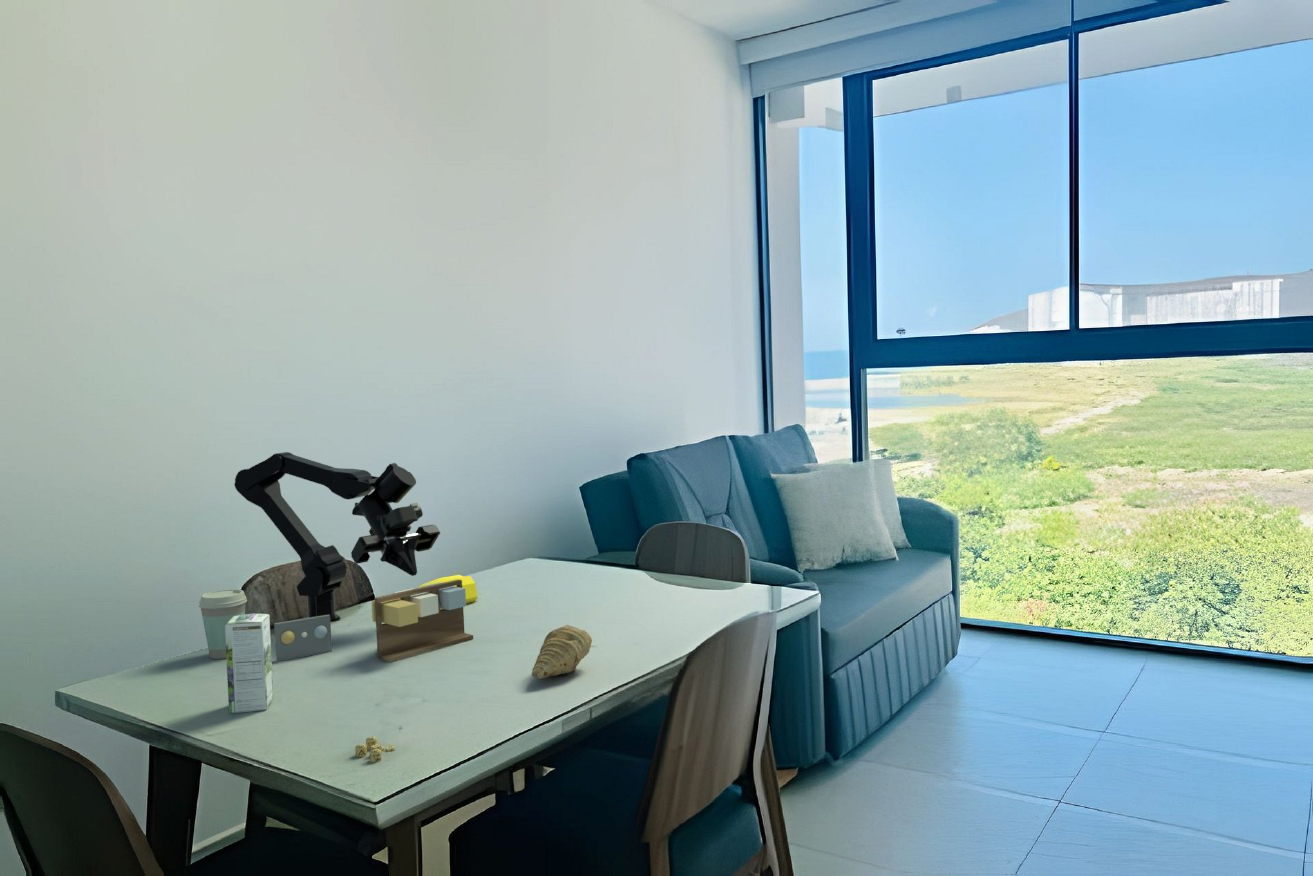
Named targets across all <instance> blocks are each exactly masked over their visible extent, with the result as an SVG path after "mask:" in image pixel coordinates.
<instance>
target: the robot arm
mask: <svg viewBox="0 0 1313 876" xmlns="http://www.w3.org/2000/svg"><path fill="white" fill-rule="evenodd" d="M286 474H287V475H289V476H294V477H296V478H299V479H302V480H306V481H309V482H312V483H315V484H318V485H321V486H324V487H326V488H328V490H330V491H331V493H333V494H334V495H337V496H338V497H340V498H342V499H344V500H352V499H357V498H361V497H363V498H361V499H360V501H359V502H354V507H353V508H352V511H351V514H352V515H353V516H360V517H364V518H365V520H366V522H367V523H368V525H369V527H370V529H369V531H368V532H369V533H368V534H370V535H364V536H363V535H362V536H359V537H358V539H357V541H356V543H355V545H354V546H353V548H352V551H351V552H350V554H351V558H352V561H353V562H354V563H355V565H357V564H363V563H367V562H369V560H370V557H371V556H370V554H369V553H375V552H380V553H381V557H380V559H379V560H380V562H385V563H387V564H389V565H392V566H393V567H395V568H398V569H400V570H401V571H403V572H404V573H407V574H408V575H410V576H412V577H414V576H416V575H417V574H418V569H417V568H418V567H417V562H416V552H424V551H429V550H430V549H432V548H433V546H434V544H435V542H436V541H437V539H438V538H439V536H440V534H441V531H440V530H439V528H438V527H437V525H436V524H429V525H428V524H427V525H422V526H418V528H417V529H416V531H415V532H414V533H412V534H411V533H410V534H408V532H411V529H412V526H411V525H412V524H414V523H415V522H418V521H419V519H420V518H422V517H423V515H424V512H423V511H422V507H421V506H420V505H419V504H418V502H415V503H414V502H413V503H410V504H409V505H407V506H400V507H396V508H394V509H393V508H392V506H391V504H392V503H394V504H399V503H400V502H401V501H402V500H403V498H404V497H405V496H406V495H407V494H408V493H409V492H410V491H411V490H412V489H413V488H414V487H415V486H416V484H417V480H416V478H415V476H414V475H413V474H412V473H411V472H410V471H408V470H407V469H405V468H403V467H401V466H399V465H398V464H397V463H396V462H393V463H389V465H387V466H386V468H385V469H384V471H383V472H382V473H381V474H380V475H379V476H376V475H372V474H371V473H370V472H369V471H368V470H366V469H357V468H356V469H355V468H344V467H343V468H342V467H341V468H340V467H334V466H331V465H328V464H324V463H321V462H319V461H314V460H312V459H308V458H305V457H301V456H299V455H296V454H293V453H291V452H290V451H289V452H288V451H284V452H278V453H274V454H272V455H271V456H270V457H268V458H267V459H265V460H263V461H261V462H258V463H257V464H255V465H253V466H250V468H244V469H241V470H239V471H238V472H237V474H236V475H235V478H234V487H235V490H236V491H237V492H238V493H239V494H240V495H241V496H242V497H243V498H244V499H245V500H246V501H248V503H249V502H250V504H253V505H255V506H257V507H258V508H261V510H263V512H264V513H265V514H266V516H267V517H268V518H269V520H270V521H271V522H272V523H273V524H274V526H275V527H276V528H277V530H278V531H279V532H280V534H281V535H282V536H283V537H284V539H286V541H287V542H288V544H289V545H290V547H292V549H293V550H294V551H295V553H296V554H297V555H298V557H299V558H300V565H301V571H302V573H303V575H304V577H303V578H302V580H301V581H300V582H299V583H298V584H297V585H296V589H297V593H298V595H299V597H306V603H307V604H306V606H307V609H306V610H307V615H304V616H303V617H302V619H304V618H310V617H316V616H323V615H330V622H332V621H331V620H333V621H337V620H338V619H339V620H341V616H340V615H338V614H337V613H336V602H335V601H336V600H335V590H336V589H340V588H341V587H342V584H343V583H342V582H343V580H344V579H345V578H346V574H347V568H348V567H347V563H346V562H345V561H344V560H345V559H346V558H345V557H344V556H342V555H341V554H340V553H339V551H338V549H337V548H336V546H335V545H333V544H331V545H329V546H324V545H322V544H320V543H319V542H318V541H319V540H317V539H316V537H315V536H314V535H313V534H312V532H311V531H310V530H309V529H308V527H307V526H306V525H305V524H304V522H303V521H302V520H301V519H300V517H299V516H298V514H297V513H296V512H295V511H294V509H292V507H291V506H290V505H289V503H288V502H287V501H286V500H285V498H284V497H283V495H282V491H281V490H282V489H281V485H280V481H279V480H281V479H282V478H283V477H285V475H286Z"/></svg>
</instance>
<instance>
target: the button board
mask: <svg viewBox="0 0 1313 876" xmlns="http://www.w3.org/2000/svg"><path fill="white" fill-rule="evenodd" d="M451 586H457V587H460V588H462V580H459V579H458V580H453V581H449V582H444V583H440V584H435V585H431V586H426V587H422V588H419V587H418V588H413V590H408V589H407V590H408V591H404V592H399V591H398V592H399V593H395V594H393V593H391V594H386V595H381V596H377V597H374V600H375V617H376V622H375V630H376V631H375V632H376V649H377V650H376V651H377V659H378V658H379V659H378V660H380V659H381V661H383V660H385V661H384V662H387V663H393V662H396V661H395V660H397V661H400V659H401V660H403V659H402V658H404V659H407V658H411V657H414V656H417V655H421V654H426V653H429V652H432V651H436V650H440V649H442V647H443V648H446V647H450V646H453V645H457V643H458V644H461V643H464V642H467V641H471V640H474V634H472V633H471V634H470V633H466V632H465V616H464V615H465V614H464V607H460V608H456V609H452V610H446V609H441V610H440V597H439V589H442V588H447V587H451ZM425 592H429V593H431V594H435V595H438V611H439V613H436V614H432V615H428V616H424V617H418V622H417V623H413V624H409V625H405V626H401V627H398V626H394V625H390V624H386V623H382V618H381V602H385V601H389V600H394V599H398V598H400V600H403V601H408V602H411V596H412V595H416V594H420V593H425ZM460 642H461V643H460ZM435 649H436V650H435ZM428 651H429V652H428ZM410 656H411V657H410ZM392 661H393V662H392Z"/></svg>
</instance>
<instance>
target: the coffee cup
mask: <svg viewBox="0 0 1313 876" xmlns="http://www.w3.org/2000/svg"><path fill="white" fill-rule="evenodd" d="M247 602H248V599H247V596H246V594H245V592H244V590H242V589H237V588H231V589H230V588H229V589H220V590H214V591H209V592H206V593H204V594H202V595H201V597H200V600H199V602H198V604H199V605H198V607H199V608H200V611H201V616H202V622H203V628H204V632H205V636H206V643H207V649H208V653H209V657H210V658H211V659H213V660H224V658H225V659H226V637H225V625H226V624H227V623H228V622H229V621H230V620H231V619H232V618H233V617H234V616H238V615H245V614H246V604H247Z"/></svg>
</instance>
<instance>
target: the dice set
mask: <svg viewBox="0 0 1313 876" xmlns="http://www.w3.org/2000/svg"><path fill="white" fill-rule="evenodd" d="M385 748H386V751H387V752H393V751H395V746H394V745H390V746H386V747H384V746H382V745H381V744H378V738H377V736H369V737H366V739H365V743H361V744H357V745H356V746H355V748H354V749H355V750H354V751H355V757H357V758H364V757H366V756H367V755H368V751H369V750H370V751H369V760H370V762H371V763H378V762H381V761H382V752H383V751H385Z"/></svg>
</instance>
